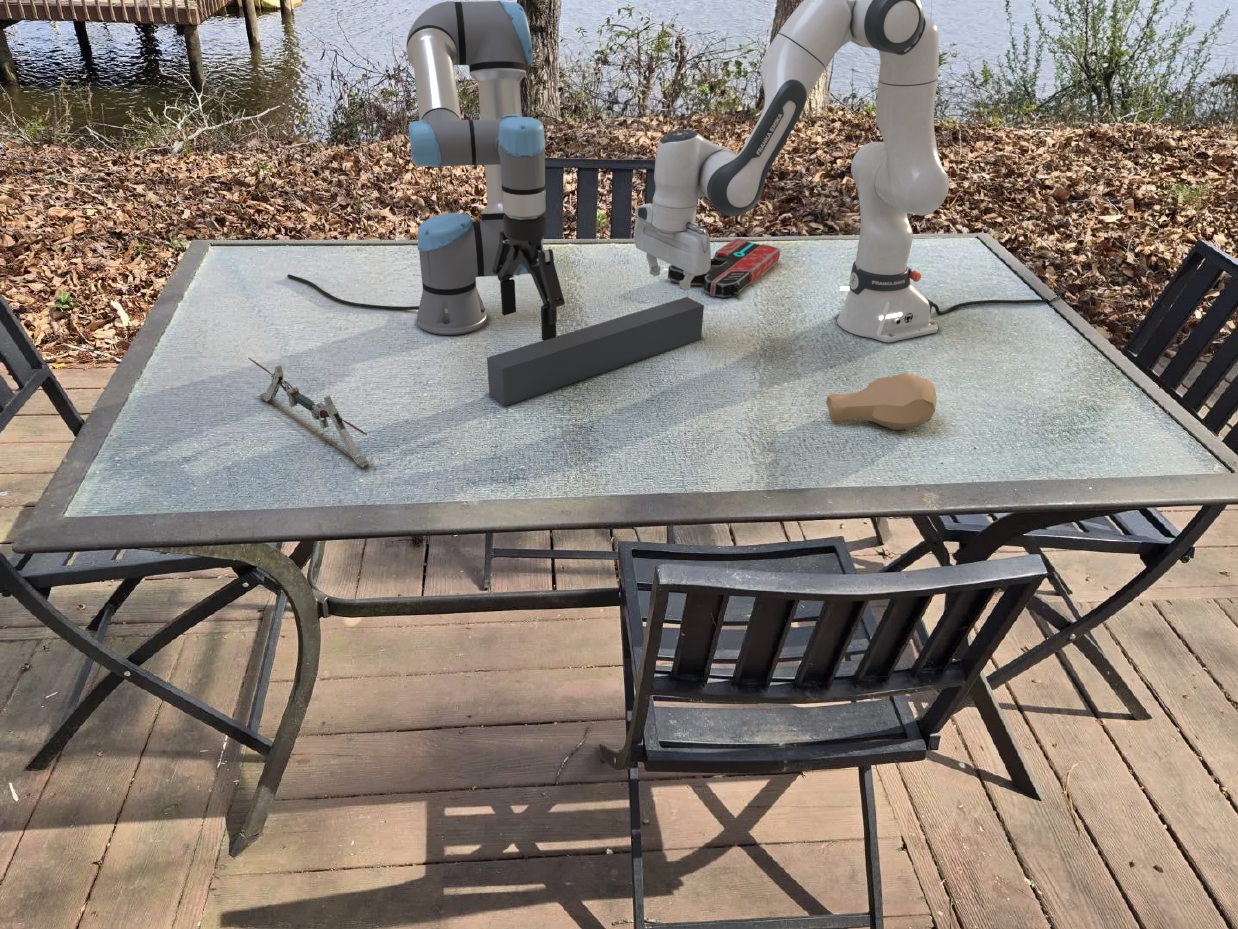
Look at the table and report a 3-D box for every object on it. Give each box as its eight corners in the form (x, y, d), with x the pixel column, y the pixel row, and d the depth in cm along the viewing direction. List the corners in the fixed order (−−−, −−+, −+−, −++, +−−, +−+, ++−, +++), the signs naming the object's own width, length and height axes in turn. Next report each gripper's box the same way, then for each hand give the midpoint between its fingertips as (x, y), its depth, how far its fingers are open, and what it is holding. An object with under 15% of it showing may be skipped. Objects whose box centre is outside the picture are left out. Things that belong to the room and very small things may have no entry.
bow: (378, 470, 147) (371, 419, 141) (369, 475, 146) (361, 423, 140) (261, 391, 168) (250, 343, 163) (252, 394, 167) (241, 347, 162)
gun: (663, 267, 215) (734, 286, 207) (718, 230, 237) (784, 246, 229) (662, 284, 218) (732, 303, 210) (716, 246, 240) (782, 262, 232)
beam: (504, 406, 166) (502, 368, 162) (489, 394, 170) (486, 357, 165) (701, 339, 193) (704, 305, 188) (684, 330, 196) (686, 296, 192)
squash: (941, 436, 161) (948, 398, 155) (831, 444, 163) (834, 407, 157) (927, 398, 169) (933, 361, 163) (822, 407, 171) (824, 370, 164)
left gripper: (584, 229, 147) (583, 344, 158) (504, 191, 163) (509, 298, 174) (547, 237, 143) (549, 355, 154) (469, 198, 159) (477, 307, 171)
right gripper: (721, 227, 170) (714, 294, 178) (653, 200, 183) (650, 264, 191) (697, 233, 167) (691, 301, 174) (630, 205, 180) (627, 269, 187)
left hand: (528, 325), depth 164 cm, fingers open, 13 cm apart
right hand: (669, 281), depth 183 cm, fingers open, 8 cm apart
